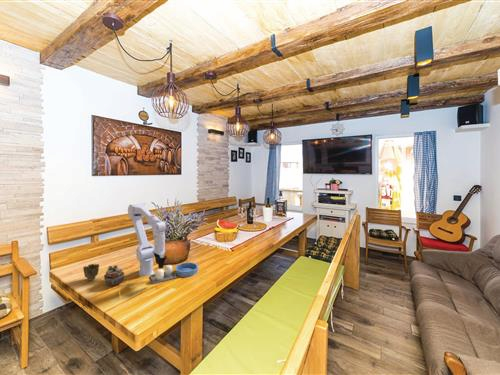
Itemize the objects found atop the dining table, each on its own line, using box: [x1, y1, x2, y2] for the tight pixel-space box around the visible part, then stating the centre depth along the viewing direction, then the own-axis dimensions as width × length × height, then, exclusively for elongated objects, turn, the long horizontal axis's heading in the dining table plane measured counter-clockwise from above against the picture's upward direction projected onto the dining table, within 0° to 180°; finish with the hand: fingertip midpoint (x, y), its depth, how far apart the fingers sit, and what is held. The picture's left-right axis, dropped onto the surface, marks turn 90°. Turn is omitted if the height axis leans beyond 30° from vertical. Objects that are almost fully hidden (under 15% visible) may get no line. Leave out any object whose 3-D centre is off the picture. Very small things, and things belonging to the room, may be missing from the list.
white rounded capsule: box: [155, 268, 165, 281], centre depth 128 cm, size 4×4×6 cm
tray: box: [149, 270, 178, 285], centre depth 131 cm, size 10×13×1 cm
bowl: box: [174, 261, 199, 278], centre depth 140 cm, size 14×14×4 cm
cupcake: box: [103, 265, 125, 288], centre depth 124 cm, size 10×10×10 cm
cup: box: [82, 263, 100, 281], centre depth 127 cm, size 8×7×8 cm
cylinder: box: [164, 264, 173, 277], centre depth 134 cm, size 4×4×6 cm
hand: (159, 265), depth 128 cm, fingers open, 7 cm apart
